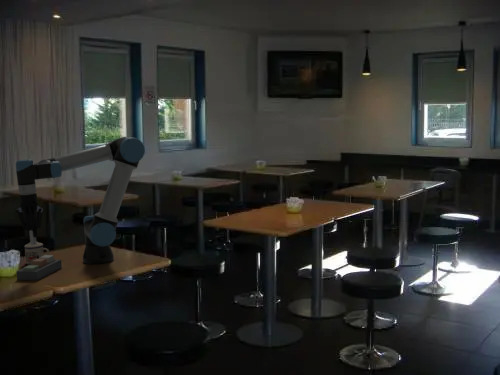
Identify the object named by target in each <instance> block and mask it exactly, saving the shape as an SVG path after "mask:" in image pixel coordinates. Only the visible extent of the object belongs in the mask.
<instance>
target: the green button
mask: <svg viewBox="0 0 500 375" xmlns="http://www.w3.org/2000/svg"><path fill="white" fill-rule="evenodd" d="M22 269H24V271H35V270H37V269H39V265H29V264H28V265H27V266H24V267H23V268H22Z"/></svg>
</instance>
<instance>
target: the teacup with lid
mask: <svg viewBox="0 0 500 375" xmlns="http://www.w3.org/2000/svg"><path fill="white" fill-rule="evenodd" d="M36 242H37V244H34V245H31V243H30V242H28V243H27V244H25V245H24V246H23V248H24V254H25V264H26V265H28V266H29V265H31V264H32V261H33V260H35V259H40V257H42V256H44V255H45V253H44V251H46V255H50V250H49V249H48V248H46V247H44V243H42V242H38V241H36Z"/></svg>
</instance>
